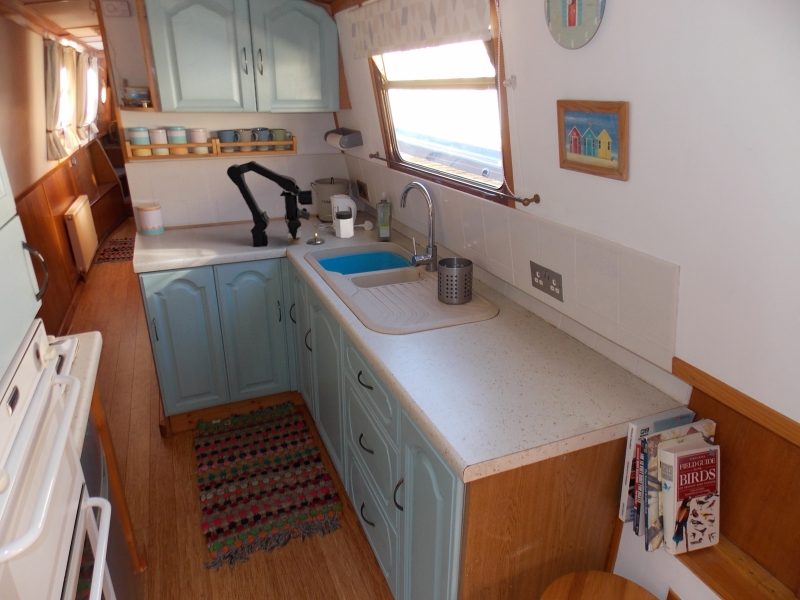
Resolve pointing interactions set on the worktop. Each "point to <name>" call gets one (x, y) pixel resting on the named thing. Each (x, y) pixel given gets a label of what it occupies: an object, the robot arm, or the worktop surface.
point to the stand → (294, 241)
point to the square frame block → (291, 235)
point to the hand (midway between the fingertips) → (293, 237)
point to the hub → (316, 240)
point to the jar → (344, 224)
